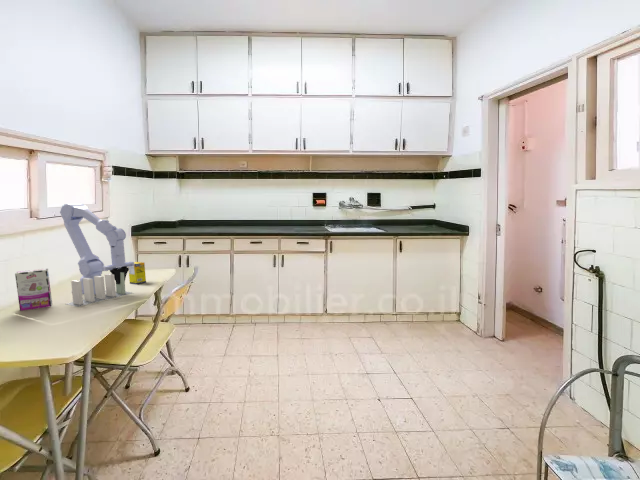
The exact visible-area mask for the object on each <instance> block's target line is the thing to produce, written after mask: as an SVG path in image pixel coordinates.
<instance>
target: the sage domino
mask: <svg viewBox="0 0 640 480" xmlns="http://www.w3.org/2000/svg"><path fill="white" fill-rule="evenodd" d="M115 289H116V293H120V294H125V292H126V279H125V280H124V272H120V284H116V283H115Z"/></svg>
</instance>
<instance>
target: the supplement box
mask: <svg viewBox="0 0 640 480" xmlns="http://www.w3.org/2000/svg"><path fill="white" fill-rule="evenodd" d="M133 262H134V266H129V267H127V268H129V270H128V278H129V279H128V281H129V284H130V285H131V284H132V285H140V284H146V283H147V276H146V267H145V266H146V265H145V262H143V261H133Z"/></svg>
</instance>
